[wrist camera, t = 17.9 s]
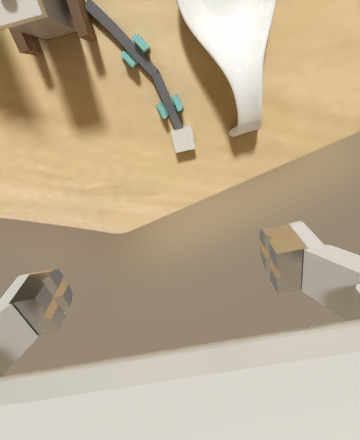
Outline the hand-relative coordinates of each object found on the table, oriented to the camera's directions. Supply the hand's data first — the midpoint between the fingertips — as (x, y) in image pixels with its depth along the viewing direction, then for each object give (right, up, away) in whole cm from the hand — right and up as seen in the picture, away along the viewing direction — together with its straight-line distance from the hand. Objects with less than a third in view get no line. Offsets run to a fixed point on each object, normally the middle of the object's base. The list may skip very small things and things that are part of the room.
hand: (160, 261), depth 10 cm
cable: (-4, +21, +26) cm, 34 cm away
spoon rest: (+8, +26, +24) cm, 36 cm away
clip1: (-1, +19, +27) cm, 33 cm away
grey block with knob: (-15, +28, +21) cm, 38 cm away
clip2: (-5, +25, +24) cm, 35 cm away
